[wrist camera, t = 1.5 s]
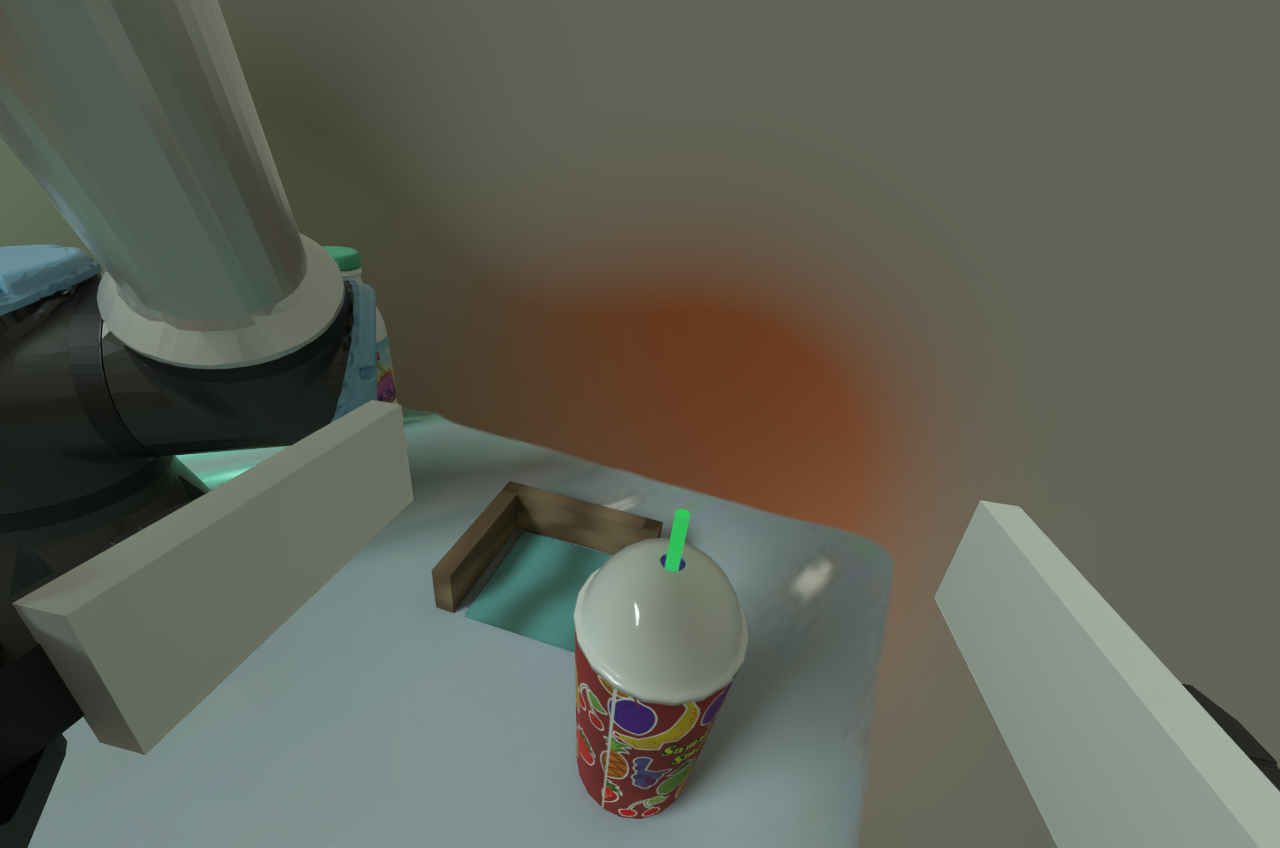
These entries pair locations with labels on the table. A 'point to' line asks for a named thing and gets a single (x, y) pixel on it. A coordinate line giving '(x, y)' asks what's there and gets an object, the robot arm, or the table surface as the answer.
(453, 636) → the table surface
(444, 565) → the holder
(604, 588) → the smoothie
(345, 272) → the milk bottle
